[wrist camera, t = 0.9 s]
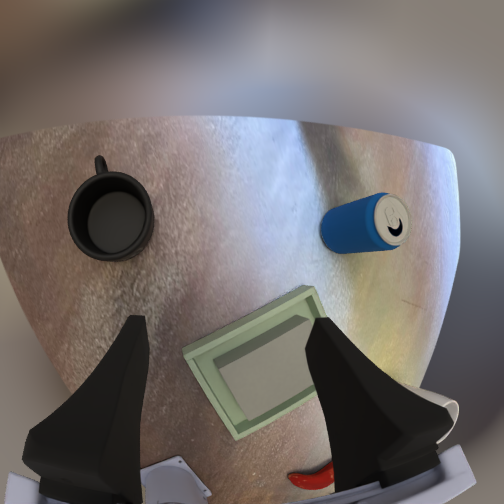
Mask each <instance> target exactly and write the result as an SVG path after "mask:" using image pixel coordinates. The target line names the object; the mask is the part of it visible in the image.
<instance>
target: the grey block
mask: <svg viewBox="0 0 504 504" xmlns="http://www.w3.org/2000/svg"><path fill="white" fill-rule="evenodd" d="M312 327H313V326H312V323H311V321H310V319H308V318H305V317H302V316H299V315H297V314H296V315H294V316H292V317H291V318H289V319H287V320H285V321H284V322H282V323H280V324H278V325H277V326H275V327H273V328H271V329H269V330H267V331H266V332H264V333H262V334H260V335H258V336H256V337H255V338H253V339H251V340H249V341H247V342H245V343H243V344H241V345H240V346H238V347H236V348H234V349H232V350H230V351H228V352H226V353H224V354H222V355H220V356H218V357H216V358H214V359H213V360H214V362H215V364H216V366H217V368H218V370H219V372H220V373H221V375H222V377H223V379H224V380H225V382H226V384H227V386H228V387H229V389H230V391H231V393H232V394H233V396H234V398H235V399H236V401H237V403H238V404H239V406H240V408H241V409H242V411H243V413H244V414H245V416H246V418H247V419H248V421H250V420H252V419H254V418H256V417H258V416H260V415H262V414H264V413H265V412H267V411H269V410H271V409H273V408H274V407H276V406H278V405H280V404H281V403H283V402H285V401H287V400H288V399H290V398H292V397H293V396H295V395H297V394H298V393H300V392H302V391H303V390H305V389H306V388H308V387H310V386H311V385H313V384H314V383H313V381H312V378H311V375H310V372H309V368H308V364H307V359H306V353H305V346H306V343H307V341H308V338H309V335H310V332H311V330H312Z"/></svg>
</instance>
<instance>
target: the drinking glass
mask: <svg viewBox="0 0 504 504" xmlns="http://www.w3.org/2000/svg"><path fill="white" fill-rule="evenodd" d="M398 383H399V384H401V385H402V386H404V387H405V388H407V389H408V390H410V391H412V392H414V393H415V394H417V395H419V396H421V397H423V398H425V399H426V400H428V401H431V402H433V403H435V404H438V405H440V406H442V407H445V408H447V410H448V412H449V414H450V416H451V418H452V420H453V421H454V425H455V423H456V420H457V417H458V412H459V406H458V403H457V402H456V401H454V400H452V399H450V398H448V397H445V396H443V395H440V394H438V393H435V392H431V391H428V390H424V389H420V388H417V387H413V386H410V385H406V384H403V383H400V382H398ZM454 425H453V427H454ZM453 427H452V428H453ZM451 430H452V429H451ZM451 430H450V431H449V432H448V433H447V434H445V435H444V436H443V437H442V438H441V439H440V440H438V441H437V442H436V443H437V444H438V443H440V442H441V441H442V440H443V439H444V438H446V437H447V435H448V434H449V433H450V432H451Z"/></svg>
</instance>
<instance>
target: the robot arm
mask: <svg viewBox="0 0 504 504" xmlns="http://www.w3.org/2000/svg"><path fill="white" fill-rule="evenodd" d="M149 350H150V348H149V342H148V335H147V328H146V321H145V316H139V315H130V316H129V317H128V318H127V320H126V322H125V324H124V326H123V327H122V329H121V331H120V333H119V334H118V336H117V337H116V339H115V341H114V342H113V344H112V345H111V347H110V348H109V350H108V351H107V353H106V354H105V356H104V357H103V359H102V360H101V361H100V363H99V364H98V365H97V367H96V368H95V369H94V371H93V372H92V373H91V375H90V376H89V377H88V378H87V379H86V380H85V382H84V383H83V384H82V385H81V386H80V387H79V388H78V389H77V390H76V391H75V393H74V394H73V395H72V396H71V397H70V398H69V399H68V400H67V401H66V402H64V403H63V404H62V405H61V406H60V407H59V408H58V409H57V410H55V411H54V412H53V413H52V414H51V415H49V416H48V417H47V418H46V419H44V420H43V421H42V422H40V423H39V424H37V425H36V426H35V427H33V428H32V429H30V431H29V434H28V436H27V439H26V442H25V447H24V451H23V456H22V460H23V462H24V464H25V465H27V466H28V467H29V468H30V469H32V470H33V471H34V472H35V473H37V474H38V475H40V476H41V479H40V483H39V482H38V481H35V480H33V479H30V478H28V477H25V476H22V475H19V474H16V473H14V472H9V475H8V481H7V488H6V494H5V502H4V504H142V503H143V500H142V488H141V484H142V485H143V486H145V488H146V496H145V499H146V500H145V504H208V501H207V497H208V496H210V495H211V494H212V493H211V491H210V490H209V489H208V488H207V487H206V486H205V485H204V483H203V482H202V481H201V480H200V479H199V478H198V477H197V475H196V474H195V473H194V472H193V471H192V470H191V468H190V467H189V466H188V465H187V463H186V462H185V461H184V460H183V459H182V457H181V456H175V457H172V458H170V459H167V460H165V461H162V462H160V463H157V464H154V465H152V466H149V467H146V468H143V469H140V421H141V412H142V405H143V399H144V393H145V387H146V380H147V375H148V366H149ZM305 353H306V359H307V364H308V368H309V372H310V375H311V378H312V381H313V383H314V386H315V389H316V392H317V395H318V398H319V401H320V404H321V407H322V410H323V413H324V417H325V421H326V426H327V431H328V436H329V442H330V448H331V454H332V462H333V471H334V484H335V494H330V495H326V496H322V497H317V498H312V499H307V500H302V501H296V502H290V503H284V504H444V503H446V502H447V501H449V500H451V499H452V498H454V497H456V496H457V495H459V494H460V493H462V492H464V491H465V490H467V489H468V488H470V487H471V486H473V485H474V484H476V480H475V478H474V475H473V473H472V471H471V468H470V466H469V464H468V462H467V460H466V457H465V455H464V453H463V451H462V449H461V447H460V445H459V444H457V445H456V446H453V447H451V448H449V449H447V450H445V451H443V452H441V453H440V454H438V455H437V453H436V450H437V449H438V445H437V443H436V442H437V441H438V440H440V439H441V438H442V437H443V436H444V435H445V434H447V433H448V432H449V431H450V430H451V429H452V427H453V425H454V421H453V420H452V418H451V416H450V414H449V412H448V410H447V408H445V407H442V406H440V405H438V404H435V403H433V402H431V401H428V400H426V399H425V398H423V397H421V396H419V395H417V394H415V393H414V392H412V391H410V390H408V389H407V388H405V387H404V386H402V385H401V384H399V383H398V382H396V381H395V380H394V379H392V378H391V377H390V376H388V375H387V374H386V373H384V372H383V371H382V370H381V369H379V368H378V367H377V366H376V365H375V364H374V363H373V362H372V361H370V360H369V359H368V358H367V357H366V356H365V355H364V354H363V353H362V352H361V351H360V350H359V349H358V348H357V347H356V346H355V345H354V344H353V343H352V342H351V341H350V340H349V339H348V338H347V336H346V335H345V334H344V333H343V332H342V331H341V330H340V329H339V328H338V327H337V326H336V325H335V323H334V322H333V321H332V320H331V319H330V318H329V317H319V318H315V321H314V324H313V327H312V330H311V332H310V335H309V338H308V341H307V343H306V346H305ZM179 461H181V462H179ZM205 489H206V490H205Z"/></svg>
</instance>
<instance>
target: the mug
mask: <svg viewBox="0 0 504 504" xmlns="http://www.w3.org/2000/svg"><path fill="white" fill-rule="evenodd" d="M95 169H96V174H97V175H95V176H93V177H91V178H89V179H88V180H86V181H85V182H84V183H83V184H82V185H81V186H80V187H79V188H78V189H77V191H76V192H75V194H74V196H73V198H72V200H71V202H70V205H69V210H68V228H69V232H70V235H71V237H72V239H73V241H74V243H75V244H76V245H77V247H78V248H79V249H80V250H81V251H82V252H83V253H85V254H86V255H88V256H89V257H91V258H94V259H97V260H101V261H110V262H119V261H124V260H128V259H130V258H132V257H134V256H136V255H137V254H138V253H140V252H141V251H142V250H143V249H144V248H145V246H146V245H147V244H148V242H149V240H150V238H151V236H152V233H153V228H154V213H153V208H152V204H151V201H150V198H149V195H148V193H147V191H146V190H145V188H144V187H143V186H142V185H141V184H140V183H139V182H138V181H137V180H136V179H135V178H133V177H131V176H130V175H127V174H125V173H121V172H108V168H107V164H106V161H105V159H104V157H103V156H101V155H99V156H97V157H96V158H95Z"/></svg>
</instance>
